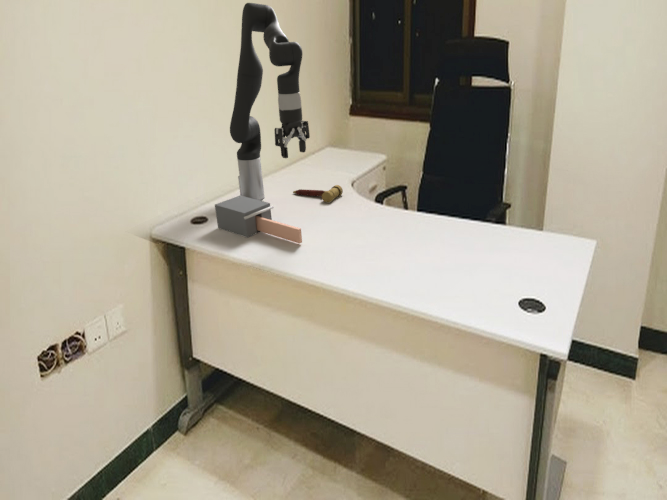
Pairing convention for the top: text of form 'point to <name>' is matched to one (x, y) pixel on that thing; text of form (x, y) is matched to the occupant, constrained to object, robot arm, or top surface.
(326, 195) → the gavel
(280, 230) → the ticket strip
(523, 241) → the top surface
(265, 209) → the dispenser
